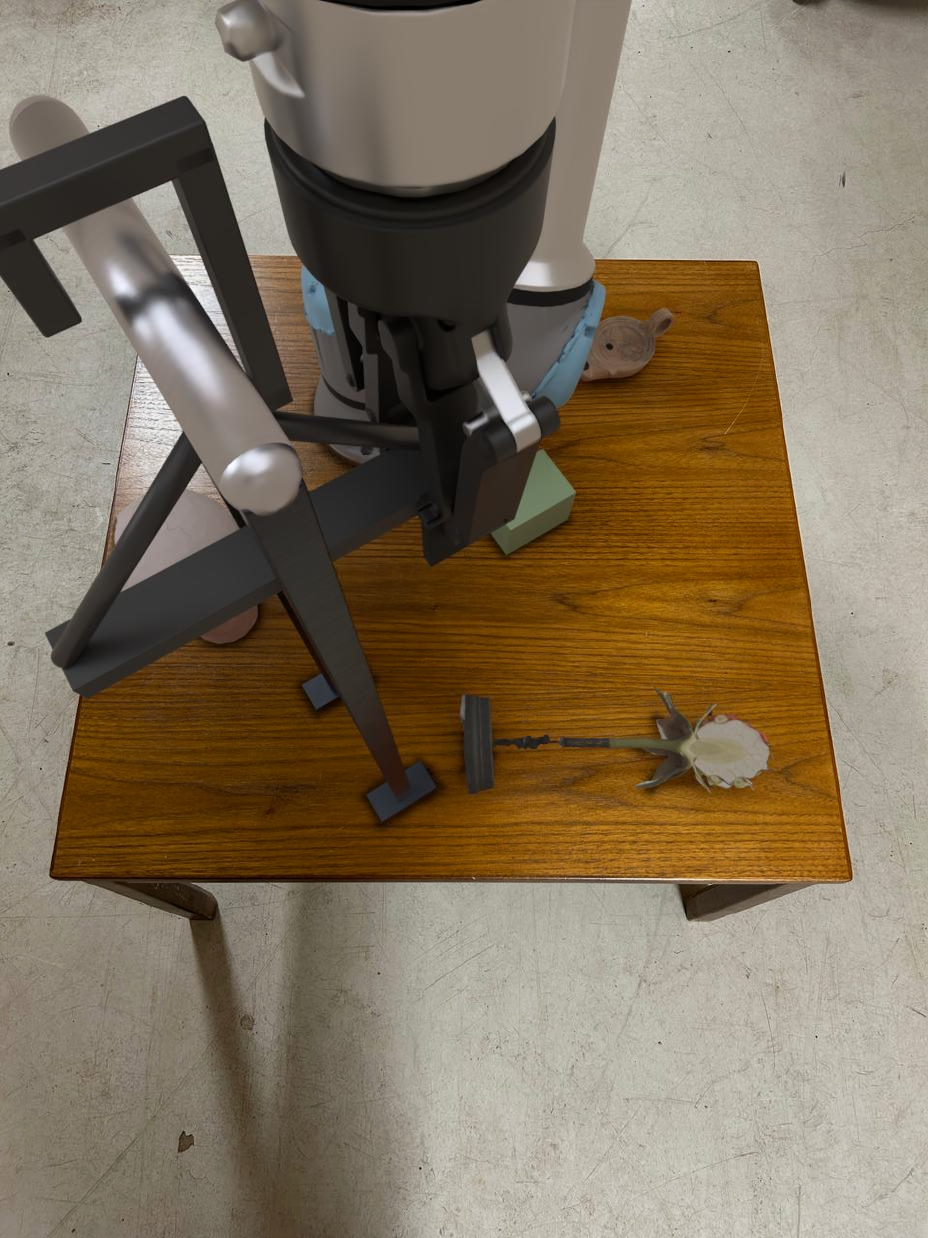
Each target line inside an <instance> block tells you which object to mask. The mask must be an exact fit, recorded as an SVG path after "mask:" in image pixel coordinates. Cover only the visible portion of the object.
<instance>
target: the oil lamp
mask: <svg viewBox="0 0 928 1238" xmlns="http://www.w3.org/2000/svg"><path fill="white" fill-rule="evenodd" d="M674 322H675V317H674V315H673V313H672V312H671V311H670V310H669V308H665V307H664V308H660V309H658V310H655V312H653V313H652V314H651V315H650V316H649V317H648V319H647V320H645V321H642V320H639V319H637V318H635V317H631V316H627V315H617V316H610V317H606V318H605V319H603V320H602V321H601V320H600V321H599V324H598V326H597V329H596V333H595V335H594V337H593V343H592V346H591V349H590V352H589V355H588V358H587V361H586V363H585V366H584V369H583V371H582V374H581V376H580V379H579V380H580V381H582V382H591V381H594V380H602V379H603V380H604V379H621V378H622V379H623V378H627V377H628V378H629V377H631V376H633V375H635V374H637V373H638V372H640V371H641V370H642V369H644V368H645V366H647V365H648V363H649V362H650V361H651V359H652V358H653V356H654V355H655V352H656V339H657V338H659V337H661V336H662V335H664V334H665V333H666V332H667V331H668V330H669V329H670V328H671V327H672V325H673V323H674Z"/></svg>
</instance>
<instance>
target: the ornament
mask: <svg viewBox="0 0 928 1238" xmlns="http://www.w3.org/2000/svg"><path fill="white" fill-rule="evenodd" d="M653 688H654V690H655V692H656V694H657V695H658V696H659V697H660V699H661V702H662V704H663V705H664V706H665V709H666V711H667V713H668V715H669V716H670V717H665V718H662V719H660V718H658V719H656V726H657V729H658V733H659V734H660V737H661V738H654V737H631V736H629V737H565V736H563V735H561V736H560V738H559V739H558V740H552V739H551V738H550V736H549V734H543V735H542V736H538V737H537V738H536V737H532V735H526V736H525V735H524V736H522V737H521V738H520V737H516V738H513V739H508V738H502V739H495V740H493V734H492V733H493V732H492V731H493V730H492V712H491V711H492V709H491V708H492V706H491V698H490V697H487V696H486V697H485V696H479V695H472V694H470V693H469V694H468V693H465V694H463V695H461V701H460V709H459V719H460V721H461V725H462V728H463V734H464V736H463V743H462V747H463V759H464V766H465V772H464V776H465V781H466V786H467V792H468V794H469V795H476V794H478V793H480V792H485V791H487V790H492V789H494V788H495V779H496V777H495V767H494V764H495V761H494V760H495V759H494V754H493V748H495V747H497V746H499V747H500V746H502V747H511V746H512V745H513V746H515V747H516V749H518V750H521V749H523V750H527V749H530V750H532V751H533V750H538V747H539V746H541V745H542V746H544V745H550V744H551V745H552V744H558V745H559V746H561V748H562V749H565V748H580V749H582V748H583V749H584V748H587V749H591V748H592V749H593V748H594V749H595V748H601V749H602V748H603V749H640V750H643V751H645V752H648V753H650V754H652V755H656V756H665V757H666V758H665V759H663V760H662V761H661V763H660V764H659V765H658V766H657V768H656V769H655V772H654V775H653V776H652V778H651V780H646V781H642V782H640V783H637V784H636V785H635V788H636V789H645V788H646V789H647V788H650V789H651V788H653V787H657V786H658V785H660V784H662V783H664V782H667V781H670V780H672V779H674V778H677V777H679V776H682V775H684V774H685V773H687V772H688V771H689V770H691V768H692V771H693V773H694V776H695V777H694V778H695V779H696V781H697V782H699V784H701V786H702V788H705V789H706V790H707V792H708V793H709V794H712V793H713V792H712V791H711V790H710V789H709V788H712V787H713V786H718V787H721V788H724V789H725V790H727V789H730V788H732V787H733V786H734V787H735V788H737V789H742V788H746V787H748V786H749V787H750V788H751V790H752V792H755V789H754V786H753V782H751V781H750V780H749V779H753V778H755V777H759V776H760V775H761V774H762V772H768V771H773V770H775V768H768V766H769V763H770V762H769V758H771V759H772V760H773V761H775V759H774V756H773V755H770V754H771V753H770V751H771V748H770V746H769V745H770V743H769V742H768V737H767V736H766V735H765V733H763V732H760V731H759V730H758V729H756V728H753V727H751V725H752V722H748V721H745V720H744V721H743V720H740V719H739V716H737V715H736V714H734V713H731V714H727V715H726V714H724V713H718V714H716V715H715V716H713V710H714V709H715V708H716V706H717V705H718V702H716V703H714V704H713V705H712V706H711V704H712V703H710V704H708V705H707V706H706V708H705V710H706V712H704V715H703V716H702V717H701V716H699V717H698V718H696V719H695V722H694V724H693V726H692V724H691V721H690V719H688V718H687V717H686V716H685V715H684V714H683V713H682V712H680V711H679V710H678V709H677V708H676V706H675V704H674V702H673V698H672V695H671V693H670V692H668V691H665V692H662V691H661V690H660V689H659V688H657V687H656V686H654V685H653ZM710 706H711V707H710ZM708 709H709V710H708ZM706 717H707V719H705V718H706ZM708 717H709V718H708ZM543 750H546V748H543ZM702 776H705V777H706V779H707V782H706V781H705V779H704V778H703V777H702Z"/></svg>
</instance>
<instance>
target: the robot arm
mask: <svg viewBox="0 0 928 1238" xmlns="http://www.w3.org/2000/svg"><path fill="white" fill-rule="evenodd" d="M632 2H633V0H234V1H231V2H228V3H226V4H224V5H222V6H220V7H219V8H217V11H216V14H215V18H214V25H215V28H216V30H217V32H218V35H219V37H220V40H221V45H222V48H223V52H224V53H226V54H227V55H229V56H230V57H232V58H234V59H235V60H238V61H240V62H242V63H245V62H248V65H249V70H250V74H251V77H252V83H253V86H254V91H255V94H256V96H257V99H258V104H259V105H260V108H261V112H262V115H263V116H264V121H263V131H264V132H263V133H264V141H265V144H266V148H267V152H268V157H269V161H270V165H271V170H272V174H273V177H274V182H275V186H276V190H277V195H278V198H279V202H280V207H281V210H282V211H281V212H282V215H283V220H284V223H285V227H286V232H287V235H288V239H289V241H290V243H291V246H292V248H293V250H294V252H295V254H296V256H297V257H298V259H299V261H300V262H301V264H302V266H301V271H300V285H301V292H302V298H303V299H302V300H303V302H302V308H303V313H304V317H305V319H306V321H307V322H308V327H309V330H310V335H311V338H312V343H313V346H314V350H315V353H316V358H317V362H318V366H319V369H320V370H319V371H320V373H319V374H320V375H319V378H318V383H317V387H316V390H315V393H314V398H313V399H314V400H313V415H318V416H327V417H336V418H344V419H353V420H361V421H370V422H379V423H387V424H396V425H404V426H413V427H417V428H418V434H419V440H420V446H421V451H422V457H423V463H424V469H425V474H426V480H427V486H428V492H426V493H424V494H422V495H420V496H419V500H420V506H419V507H417V508H415V509H416V512H417V514H418V515H417V517H418V518H419V520H420V527H421V529H420V530H421V542H422V555H423V558H424V559H425V561H426V563H427V564H428V565H429V567H430V568H433V567H435V566H436V565H438V564H440V563H441V562H443V561H445V560H447V559H449V558H450V557H451V556H454V555H455V554H457V553H459V552H460V551H462V550H464V549H466V548H468V547H469V546H471V545H473V544H474V543H476V542H478V541H479V540H481V539H484V538H485V537H487V536H488V535H491V533H492V532H493V531H495V530H497V529H499V528H500V527H502V526H504V525H505V524H507V523H509V522H511V521H512V520H514V519H515V517H516V514H517V510H518V507H519V504H520V501H521V498H522V495H523V492H524V489H525V486H526V483H527V480H528V477H529V474H530V471H531V468H532V465H533V462H534V459H535V456H536V453H537V452H538V451H539V450H538V449H539V447H540V444H541V441H542V440H544V439H546V438H547V437H549V436H551V435H552V434H554V433H556V432H559V430H560V429H561V424H562V422H561V421H562V420H561V417H560V414H559V411H558V409H560V408H562V407H563V406H565V405H566V404H567V403H568V402H569V400H570V399H571V398H572V396H573V394H574V392H575V390H576V388H577V385H578V383H579V381H580V380H581V379H580V376H581V374H582V371H583V369H584V366H585V363H586V361H587V358H588V355H589V352H590V349H591V346H592V343H593V337H594V335H595V333H596V329H597V326H598V324H599V323H600V322H601V317H602V313H603V310H604V306H605V302H606V296H607V294H606V293H607V290H606V286H605V285H604V284H601V283H600V282H599V281H598V280H595V279H594V275H595V271H596V259H595V257H594V255H593V254H592V252H591V250H589V248H588V246H587V245H586V244H585V242H584V235H585V230H586V225H587V222H588V217H589V210H590V207H591V201H592V196H593V192H594V187H595V181H596V178H597V173H598V167H599V163H600V157H601V153H602V148H603V142H604V138H605V133H606V127H607V124H608V119H609V114H610V108H611V104H612V99H613V94H614V89H615V85H616V79H617V75H618V71H619V65H620V60H621V55H622V50H623V46H624V42H625V37H626V31H627V26H628V22H629V17H630V12H631V8H632V7H631V6H632ZM325 445H326V447H327V449H329V450H330V452H331V453H332V454H334V455H335V456H336V457H337V458H338V459H340V460H341V461H343V462H345V463H346V464H348V465H350V466H353V467H354V468H355V467H357V466H359V465H361V464H363V463H365V462H366V461H368V460H370V459H372V458H374V457H376V456H378V455H380V454H381V453H383V452H385V451H387V450H389V449H387V448H374V447H361V446H348V445H335V444H325Z"/></svg>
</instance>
